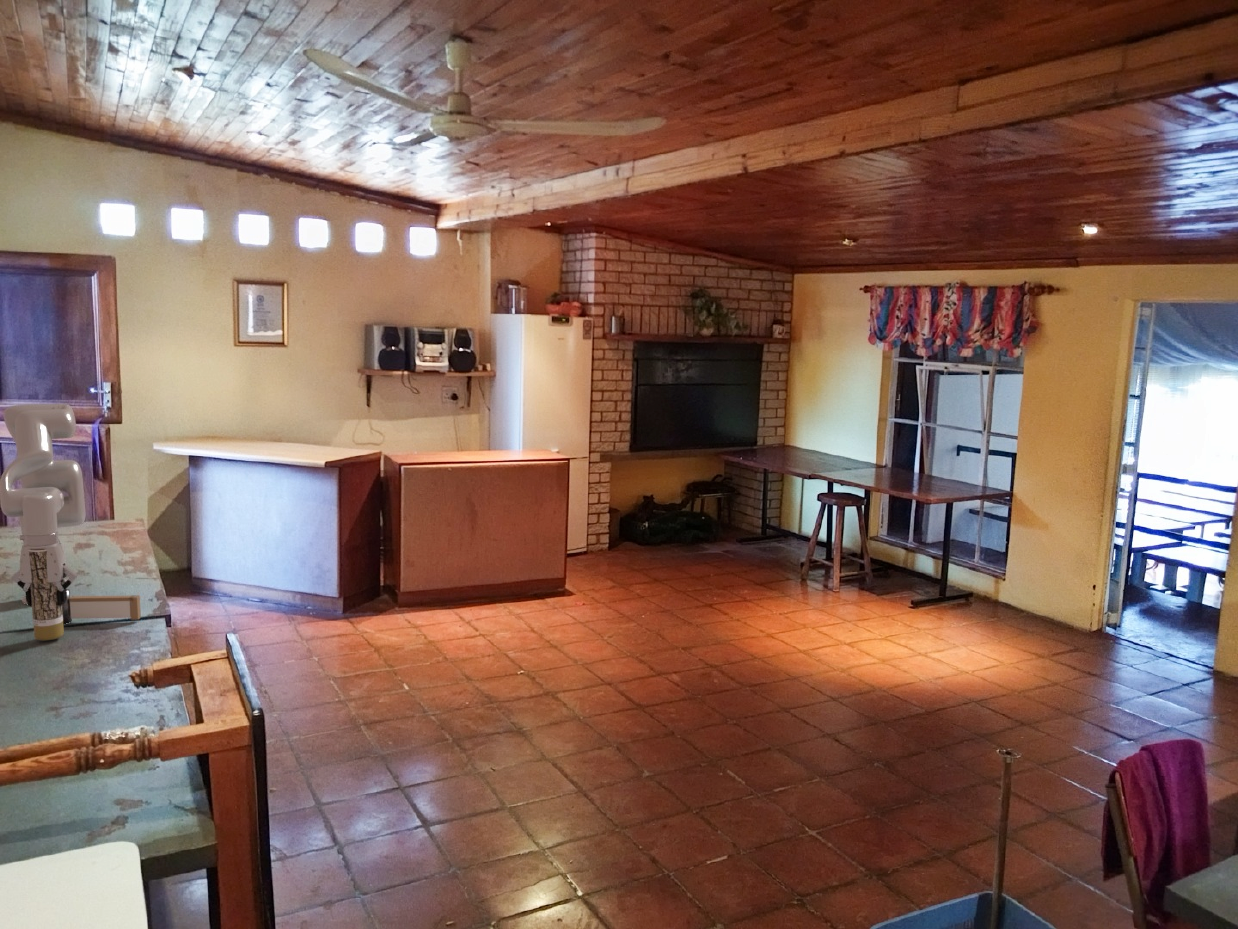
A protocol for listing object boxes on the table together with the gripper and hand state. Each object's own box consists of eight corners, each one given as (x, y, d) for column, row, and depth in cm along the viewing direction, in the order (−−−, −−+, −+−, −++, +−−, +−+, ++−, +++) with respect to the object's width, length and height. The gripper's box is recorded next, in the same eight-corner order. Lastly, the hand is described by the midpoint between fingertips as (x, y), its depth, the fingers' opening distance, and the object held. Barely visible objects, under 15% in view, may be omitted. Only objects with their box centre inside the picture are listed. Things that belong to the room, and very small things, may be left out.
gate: (74, 618, 264) (72, 596, 263) (140, 617, 266) (139, 595, 265) (70, 620, 262) (69, 598, 261) (138, 619, 264) (136, 597, 263)
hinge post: (62, 621, 264) (60, 589, 262) (73, 621, 264) (71, 589, 263) (57, 624, 261) (55, 592, 260) (69, 624, 261) (66, 592, 260)
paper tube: (54, 641, 246) (46, 550, 242) (28, 641, 246) (21, 549, 242) (69, 633, 253) (62, 543, 248) (44, 632, 253) (37, 543, 248)
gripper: (-2, 543, 240) (4, 609, 243) (70, 542, 242) (75, 608, 245) (13, 536, 247) (19, 600, 250) (83, 535, 250) (87, 599, 253)
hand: (46, 603), depth 248 cm, fingers closed on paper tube, 6 cm apart
